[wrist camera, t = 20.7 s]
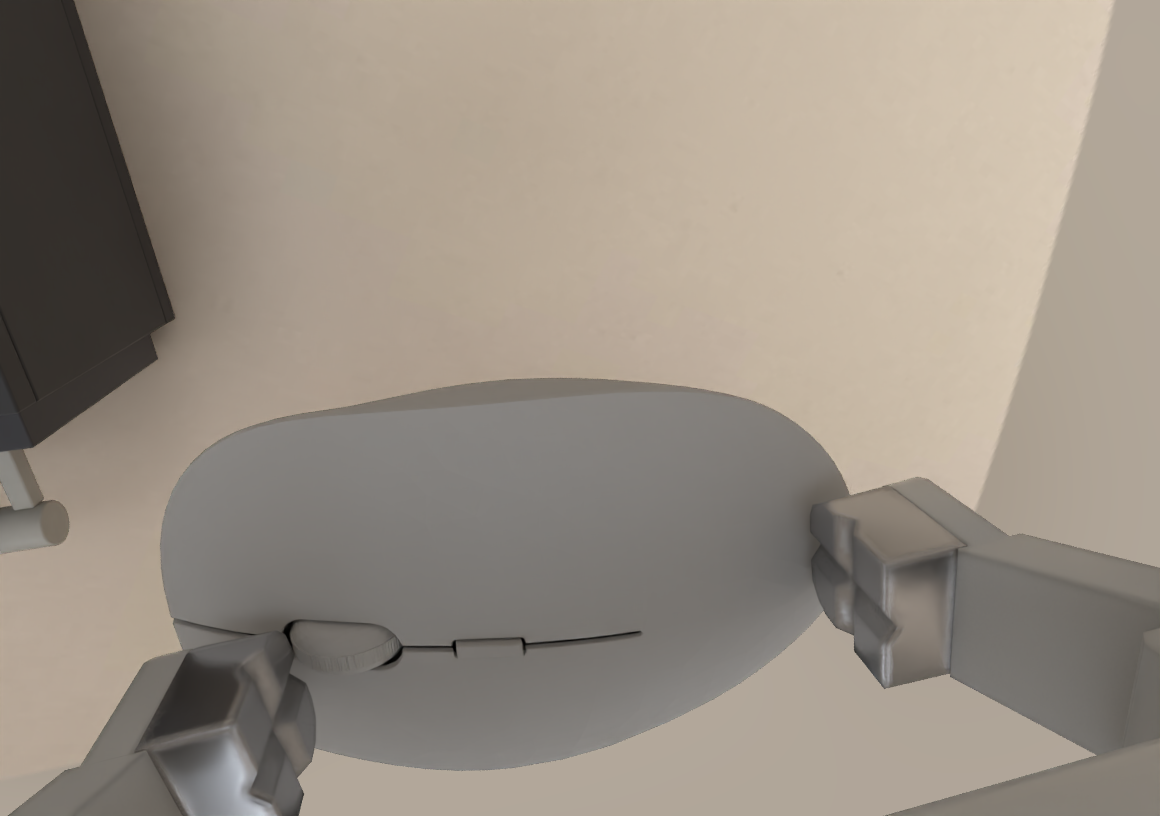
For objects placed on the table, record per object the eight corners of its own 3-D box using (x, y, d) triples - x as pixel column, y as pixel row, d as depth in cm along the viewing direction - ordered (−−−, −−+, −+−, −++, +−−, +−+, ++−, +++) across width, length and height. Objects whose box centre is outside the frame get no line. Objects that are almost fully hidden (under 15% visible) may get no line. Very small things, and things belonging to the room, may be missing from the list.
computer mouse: (141, 395, 9) (24, 494, 7) (803, 328, 11) (929, 383, 8) (236, 730, 11) (178, 913, 9) (780, 626, 13) (877, 748, 10)
